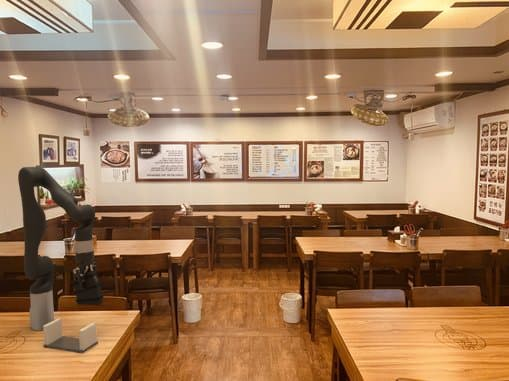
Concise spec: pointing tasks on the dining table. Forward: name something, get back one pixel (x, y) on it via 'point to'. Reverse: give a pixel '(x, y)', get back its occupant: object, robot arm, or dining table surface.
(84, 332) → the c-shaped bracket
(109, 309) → the dining table surface
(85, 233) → the robot arm
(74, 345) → the rail plate
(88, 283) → the magazine
